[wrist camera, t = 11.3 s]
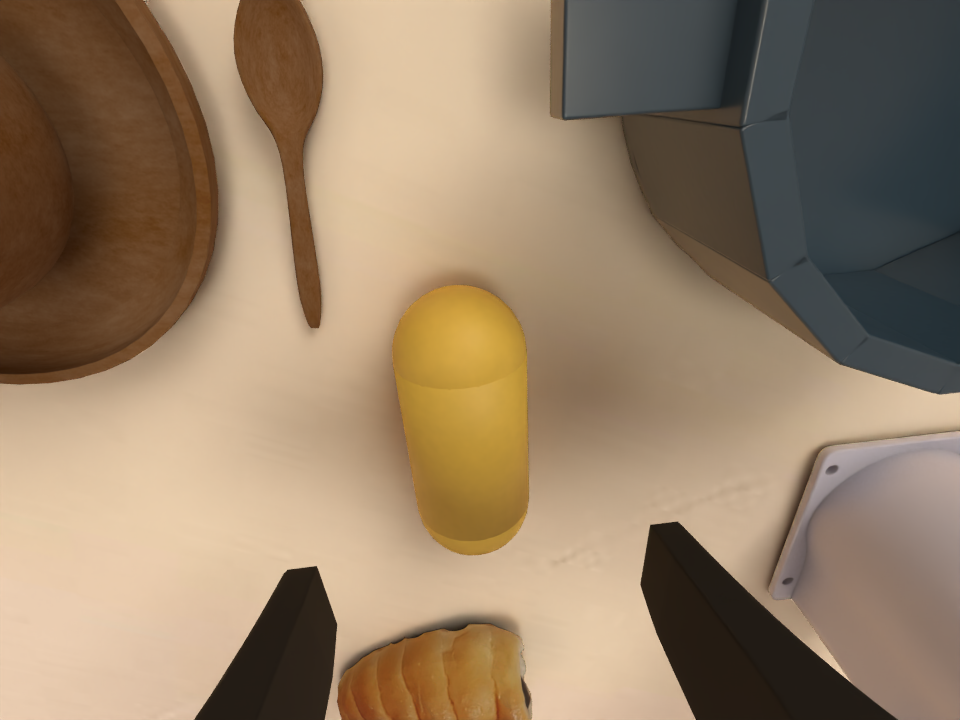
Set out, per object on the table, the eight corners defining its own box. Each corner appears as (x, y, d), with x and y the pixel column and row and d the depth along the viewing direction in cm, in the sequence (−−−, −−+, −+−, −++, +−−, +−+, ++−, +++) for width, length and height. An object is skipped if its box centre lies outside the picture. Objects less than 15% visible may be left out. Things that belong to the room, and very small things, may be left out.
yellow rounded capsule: (520, 489, 19) (539, 573, 16) (424, 500, 19) (423, 587, 16) (513, 260, 15) (538, 312, 11) (386, 272, 14) (375, 327, 11)
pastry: (364, 713, 26) (355, 803, 23) (320, 643, 23) (302, 736, 20) (533, 677, 26) (549, 763, 23) (513, 602, 23) (528, 688, 20)
